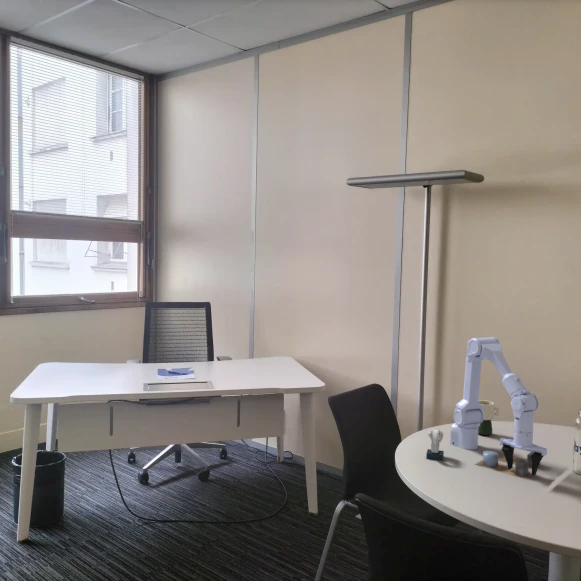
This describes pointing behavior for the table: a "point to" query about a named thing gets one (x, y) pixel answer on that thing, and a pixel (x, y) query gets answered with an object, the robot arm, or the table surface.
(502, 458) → the strip empty
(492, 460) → the blue-grey rounded block
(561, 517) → the table surface
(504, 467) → the strip
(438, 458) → the white figurine on base
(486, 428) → the character mug
